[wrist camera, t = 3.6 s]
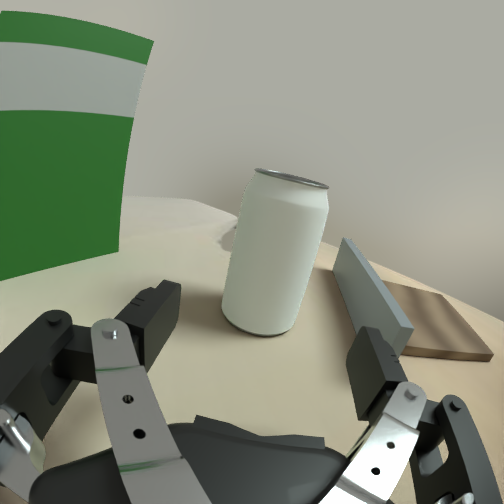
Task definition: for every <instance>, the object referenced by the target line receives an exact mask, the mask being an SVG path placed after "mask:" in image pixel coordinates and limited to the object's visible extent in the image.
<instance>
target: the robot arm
mask: <svg viewBox="0 0 504 504" xmlns="http://www.w3.org/2000/svg"><path fill="white" fill-rule="evenodd" d="M180 295H181V284H179V283H175V282H171V281H168V280H163V281H162V282H161V283H160V284H159V285H158V286H157V287H156V288H152V287H149V288H147V289H145V290H142V291H140V292H139V293H138V294H137V295H136V296H135V298H133V299H132V301H131V302H130V303H129V304H128V305H127V306H126V307H125V308H124V309H123V310H122V311H121V312H120V313H119V314H118V315H117V316H116V317H115V318H114V319H102V320H99V321H97V322H96V323H94V324H93V326H92V327H84V326H78V325H73V323H72V318H71V316H70V315H69V314H68V313H67V312H65V311H62V310H50V311H47V312H45V313H43V314H42V315H41V316H39V317H38V318H37V319H36V320H35V321H34V322H33V323H32V324H31V325H29V326H28V327H27V328H26V329H25V330H24V331H23V332H22V333H21V334H20V335H19V336H18V337H17V338H16V339H15V340H14V341H12V342H11V343H10V344H9V345H8V346H7V347H6V348H5V349H4V350H3V351H2V352H1V353H0V485H1V486H3V487H7V488H9V489H10V490H11V491H13V492H14V493H15V494H17V495H18V496H19V497H21V498H22V499H24V500H25V501H26V502H28V503H29V504H394V503H393V502H392V501H391V500H390V499H389V496H390V494H391V492H392V491H393V489H394V487H395V485H396V483H397V481H398V480H399V478H400V476H401V474H402V472H403V470H404V468H405V466H406V463H407V461H408V459H409V462H410V467H411V472H412V478H413V483H414V489H415V495H416V502H417V504H503V503H502V499H501V495H500V492H499V488H498V485H497V482H496V479H495V476H494V473H493V470H492V467H491V464H490V461H489V458H488V456H487V453H486V450H485V448H484V445H483V443H482V440H481V438H480V435H479V433H478V431H477V428H476V426H475V424H474V421H473V419H472V417H471V415H470V413H469V410H468V408H467V406H466V404H465V403H464V402H463V400H461V399H460V398H459V397H457V396H455V395H446V396H445V397H444V398H443V399H442V400H441V402H440V403H438V402H434V401H431V400H427V397H426V394H425V392H424V391H423V389H422V388H421V387H419V386H418V385H416V384H414V383H412V382H408V380H407V377H406V375H405V373H404V371H403V368H402V366H401V364H400V363H399V360H398V358H397V357H396V356H397V355H396V353H395V351H394V349H393V348H392V346H391V345H390V344H389V343H388V342H387V341H385V340H384V339H383V337H382V335H381V332H380V330H379V329H378V328H372V327H366V326H362V327H361V328H360V330H359V332H358V334H357V336H356V338H355V340H354V342H353V344H352V346H351V348H350V350H349V352H348V355H347V359H346V367H347V372H348V376H349V380H350V385H351V389H352V394H353V398H354V403H355V408H356V412H357V417H358V420H359V421H369V425H368V426H367V427H366V429H365V430H364V431H363V433H362V434H361V436H360V437H359V438H358V440H357V441H356V443H355V444H354V445H353V447H352V448H351V449H350V451H349V452H348V453H347V455H346V456H344V455H342V454H341V453H339V452H337V451H335V450H333V449H331V448H328V447H325V444H324V437H313V436H303V435H281V436H259V435H256V434H253V433H251V432H248V431H246V430H244V429H241V428H239V427H237V426H234V425H232V424H230V423H227V422H222V421H218V420H214V419H210V418H207V417H203V416H199V415H196V417H195V420H194V423H174V424H168V425H167V424H166V421H165V419H164V417H163V414H162V412H161V409H160V407H159V405H158V402H157V400H156V397H155V395H154V392H153V389H152V387H151V384H150V381H149V379H148V376H147V373H148V371H149V369H150V368H151V366H152V364H153V363H154V361H155V359H156V358H157V356H158V354H159V353H160V351H161V349H162V348H163V346H164V344H165V343H166V341H167V339H168V338H169V336H170V335H171V333H172V331H173V330H174V328H175V326H176V323H177V320H178V315H179V305H180ZM80 381H83V382H89V383H94V384H97V385H98V390H99V395H100V400H101V405H102V409H103V414H104V418H105V422H106V426H107V430H108V434H109V438H110V441H111V445H112V448H109V449H106V450H104V451H101V452H99V453H96V454H93V455H90V456H88V457H85V458H82V459H79V460H76V461H73V462H70V463H67V464H64V465H60V466H57V467H54V468H51V469H48V470H46V471H44V472H43V463H44V460H45V456H46V451H45V447H44V445H43V443H42V440H43V438H44V437H45V435H46V433H47V432H48V430H49V429H50V427H51V425H52V424H53V422H54V421H55V419H56V417H57V416H58V414H59V413H60V411H61V410H62V408H63V407H64V405H65V404H66V402H67V401H68V399H69V398H70V396H71V395H72V393H73V392H74V390H75V389H76V387H77V386H78V384H79V383H80ZM444 439H445V442H446V445H447V448H448V451H449V455H448V458H447V460H446V462H445V463H444V464H443V461H442V458H441V454H440V451H439V448H438V445H439V444H440V443H441V442H442V441H443V440H444Z"/></svg>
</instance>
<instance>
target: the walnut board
mask: <svg viewBox="0 0 504 504" xmlns="http://www.w3.org/2000/svg"><path fill="white" fill-rule="evenodd" d="M382 282H383V283H384V284H385V286H386V287H387V289H388V290H389V291H390V293H391V294H392V296H393V297H394V299H395V300H396V301H397V303H398V304H399V306H400V307H401V309H402V310H403V312H404V313H405V315H406V316H407V318H408V319H409V321H410V322H411V324H412V325H413V327H414V328H415V329H414V331H413V333H412V335H411V337H410V339H409V340H408V342H407V344H406V346H405V348H404V349H403V351H402V353H401V354H404V355H412V356H422V357H432V358H443V359H457V360H473V361H490V360H491V358H492V357H493V355H494V354H493V353H492V351H491V350H490V349H489V348H488V346H487V345H486V344H485V343H484V342H483V340H482V339H481V338H480V337H479V336H478V334H477V333H476V332H475V331H474V330H473V329H472V327H471V326H470V325H469V324H468V323H467V322H466V321H465V320H464V318H463V317H462V316H461V315H460V314H459V313H458V312H457V311H456V310H455V309H454V308H453V306H452V305H451V304H450V303H449V302H448V301H447V300H446V299H445V298H444V297H443V296H442V295H441V294H437V293H433V292H429V291H425V290H420V289H416V288H412V287H408V286H404V285H400V284H396V283H392V282H388V281H383V280H382Z"/></svg>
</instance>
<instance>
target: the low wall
mask: <svg viewBox="0 0 504 504" xmlns="http://www.w3.org/2000/svg"><path fill="white" fill-rule="evenodd" d="M332 271H333V273H334V276H335V278H336V281H337V283H338V286H339V288H340V291H341V294H342V296H343V299H344V302H345V304H346V307H347V310H348V312H349V315H350V318H351V320H352V323H353V326H354V329H355V332H356V335H357V334H358V332H359V330H360V328H361V327H362V326H366V327H372V328H378V329H379V330H380V332H381V335H382V337H383V339H384V340H385V341H387V342H388V343H389V344H390V345H391V346H392V348H393V349H394V351H395V353H396V355H397V356H396V357H397V358H399V356H400V355H401V353H402V351H403V349H404V348H405V346H406V344H407V342H408V340H409V339H410V337H411V335H412V333H413V331H414V329H415V328H414V327H413V325H412V324H411V322H410V321H409V319H408V318H407V316H406V315H405V313H404V312H403V310H402V309H401V307H400V306H399V304H398V303H397V301H396V300H395V299H394V297H393V296H392V294H391V293H390V291H389V290H388V289H387V287H386V286H385V284H384V283H383V282H382V280H381V279H380V277H379V276H378V275H377V273H376V272H375V271H374V269H373V268H372V266H371V265H370V264H369V262H368V261H367V260H366V258H365V257H364V256H363V254H362V253H361V252H360V251H359V249H358V248H357V247H356V245H355V244H354V243H353V242H352V240H351V239H347V238H343V239H342V242H341V245H340V248H339V251H338V255H337V258H336V261H335V264H334V267H333V270H332Z"/></svg>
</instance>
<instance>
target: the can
mask: <svg viewBox="0 0 504 504" xmlns="http://www.w3.org/2000/svg"><path fill="white" fill-rule="evenodd" d="M255 171H256V172H255V175H254V177H253V178H252V179H251V181H250V182H249V183H248V185H247V186H246V188H245V191H244V195H243V199H242V204H241V209H240V213H239V218H238V223H237V227H236V232H235V237H234V242H233V247H232V252H231V257H230V262H229V267H228V272H227V277H226V283H225V288H224V293H223V299H222V311H223V313H224V314H225V316H226V317H227V319H228V320H229V322H230V323H231V324H233V325H234V326H235V327H237V328H238V329H240V330H242V331H244V332H247V333H250V334H254V335H259V336H275V335H279V334H282V333H284V332H285V331H287V330H289V329H290V328H291V327H292V326H293V324H294V322H295V319H296V317H297V314H298V311H299V308H300V305H301V302H302V299H303V296H304V293H305V290H306V287H307V284H308V281H309V278H310V274H311V271H312V268H313V265H314V261H315V258H316V255H317V251H318V248H319V245H320V241H321V238H322V234H323V230H324V227H325V223H326V219H327V215H328V211H329V204H328V198H327V189H328V188H329V186H327V185H324V184H321V183H319V182H315V181H312V180H309V179H305V178H302V177H298V176H294V175H290V174H286V173H281V172H277V171H271V170H266V169H259V168H256V169H255Z"/></svg>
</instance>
